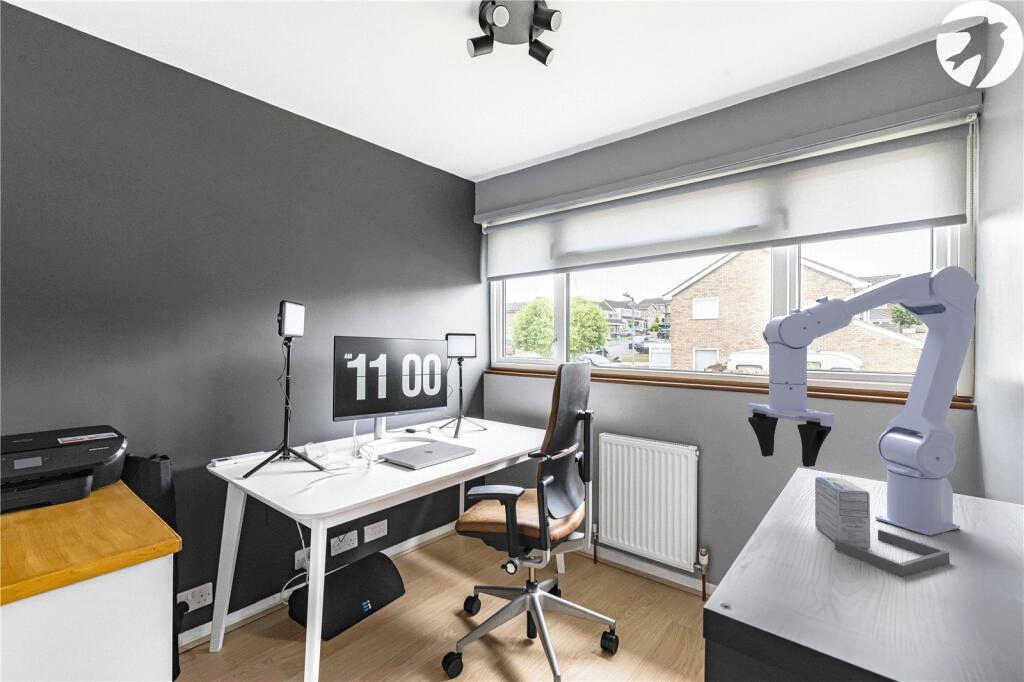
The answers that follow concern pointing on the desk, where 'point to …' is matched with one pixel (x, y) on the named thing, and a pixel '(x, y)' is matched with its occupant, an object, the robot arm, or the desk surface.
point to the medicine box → (842, 511)
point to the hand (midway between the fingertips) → (787, 460)
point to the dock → (928, 561)
